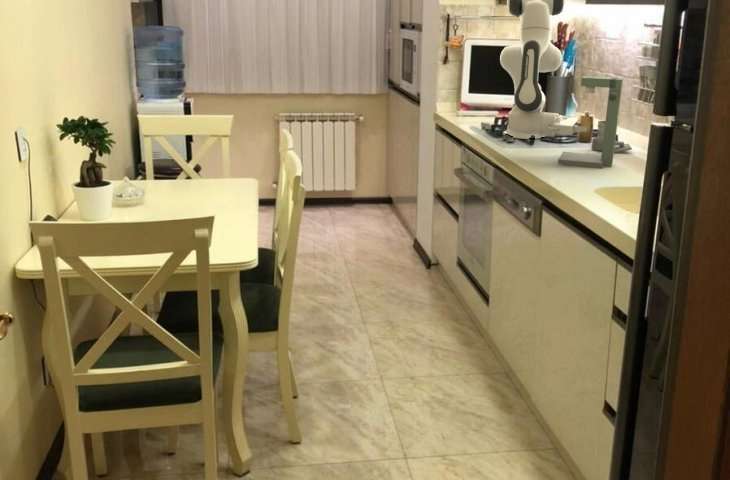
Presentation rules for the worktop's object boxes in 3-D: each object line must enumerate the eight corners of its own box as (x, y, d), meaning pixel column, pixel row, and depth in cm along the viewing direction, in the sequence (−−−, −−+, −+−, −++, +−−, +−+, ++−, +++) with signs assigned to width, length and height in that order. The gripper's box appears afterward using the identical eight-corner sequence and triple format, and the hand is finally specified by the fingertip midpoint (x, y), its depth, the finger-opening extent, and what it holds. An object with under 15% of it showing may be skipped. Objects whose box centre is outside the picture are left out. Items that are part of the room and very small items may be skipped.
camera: (594, 119, 307) (632, 121, 304) (590, 147, 311) (628, 150, 308) (596, 123, 299) (635, 125, 296) (592, 152, 302) (631, 154, 300)
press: (562, 156, 294) (571, 73, 283) (613, 161, 288) (623, 76, 277) (555, 167, 277) (564, 80, 266) (609, 172, 270) (620, 83, 260)
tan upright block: (577, 140, 286) (580, 109, 282) (592, 141, 284) (595, 110, 280) (575, 142, 281) (579, 111, 277) (590, 143, 279) (594, 113, 275)
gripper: (547, 120, 275) (586, 123, 270) (555, 112, 293) (591, 115, 288) (545, 137, 277) (584, 140, 272) (553, 128, 295) (589, 131, 290)
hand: (588, 127), depth 280 cm, fingers closed on tan upright block, 5 cm apart
